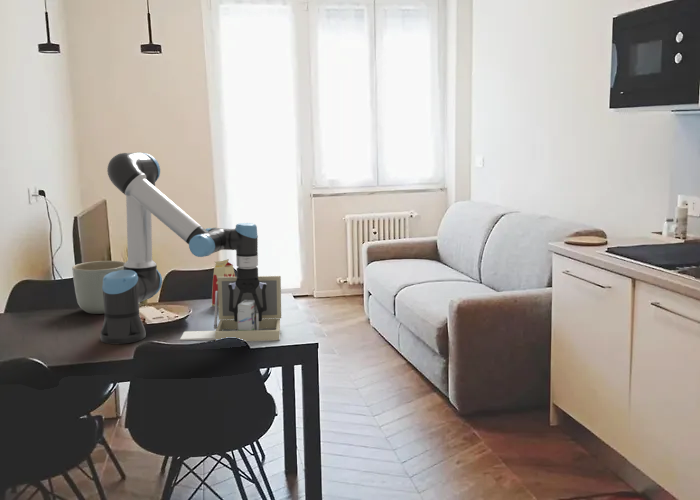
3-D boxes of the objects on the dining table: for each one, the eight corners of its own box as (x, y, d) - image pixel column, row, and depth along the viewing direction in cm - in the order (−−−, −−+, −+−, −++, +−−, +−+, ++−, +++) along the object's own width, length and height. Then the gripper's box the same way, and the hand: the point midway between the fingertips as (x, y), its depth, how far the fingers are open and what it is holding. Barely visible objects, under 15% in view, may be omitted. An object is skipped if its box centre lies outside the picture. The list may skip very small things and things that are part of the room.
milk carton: (240, 304, 286) (239, 258, 283) (225, 308, 278) (224, 261, 275) (224, 301, 291) (223, 256, 287) (209, 305, 283) (207, 259, 280)
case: (211, 341, 232) (209, 286, 229) (217, 328, 249) (215, 276, 246) (280, 340, 234) (279, 285, 231) (281, 326, 251) (280, 275, 248)
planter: (98, 320, 260) (95, 272, 257) (64, 312, 271) (61, 266, 268) (140, 308, 278) (137, 263, 275) (107, 302, 289) (104, 259, 285)
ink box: (245, 330, 246) (244, 299, 244) (259, 330, 245) (257, 299, 243) (237, 337, 238) (236, 304, 236) (251, 337, 237) (250, 305, 235)
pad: (180, 340, 234) (180, 338, 234) (184, 333, 243) (184, 331, 243) (217, 339, 235) (217, 337, 235) (220, 332, 244) (220, 330, 244)
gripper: (219, 269, 233) (220, 333, 237) (273, 268, 234) (274, 332, 238) (221, 265, 240) (222, 327, 244) (274, 264, 242) (275, 326, 246)
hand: (248, 329), depth 241 cm, fingers closed on ink box, 6 cm apart
